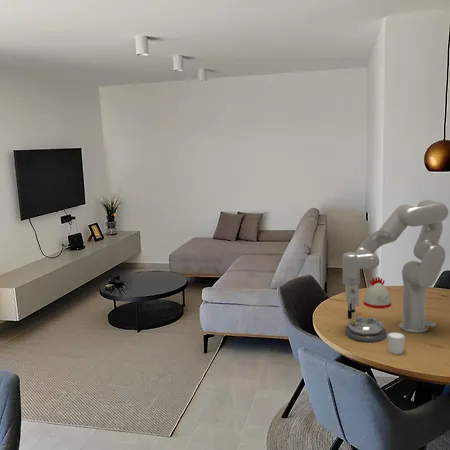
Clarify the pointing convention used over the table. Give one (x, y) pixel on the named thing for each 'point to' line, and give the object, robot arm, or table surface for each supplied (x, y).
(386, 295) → the white crested helmet
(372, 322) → the grey tabbed disc
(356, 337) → the dark grey round base
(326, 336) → the table surface
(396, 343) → the grey white-topped cylinder
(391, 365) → the table surface
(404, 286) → the robot arm
